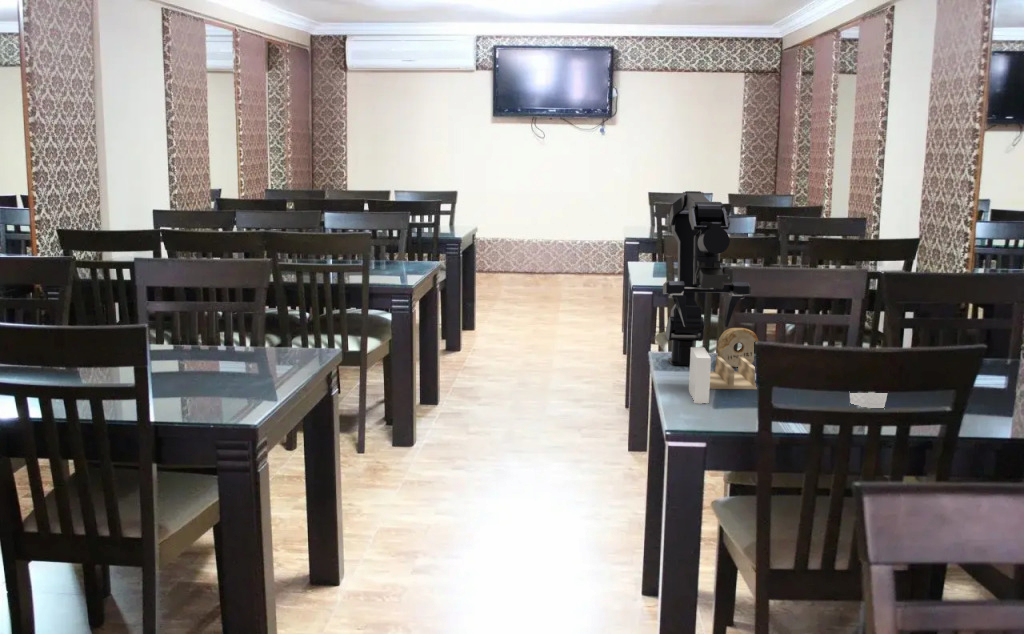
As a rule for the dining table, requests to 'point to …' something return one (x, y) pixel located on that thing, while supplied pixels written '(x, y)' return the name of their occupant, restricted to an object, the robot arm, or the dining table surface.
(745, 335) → the stone disc
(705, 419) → the dining table surface
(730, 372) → the plate rack
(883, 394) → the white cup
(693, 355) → the white block
